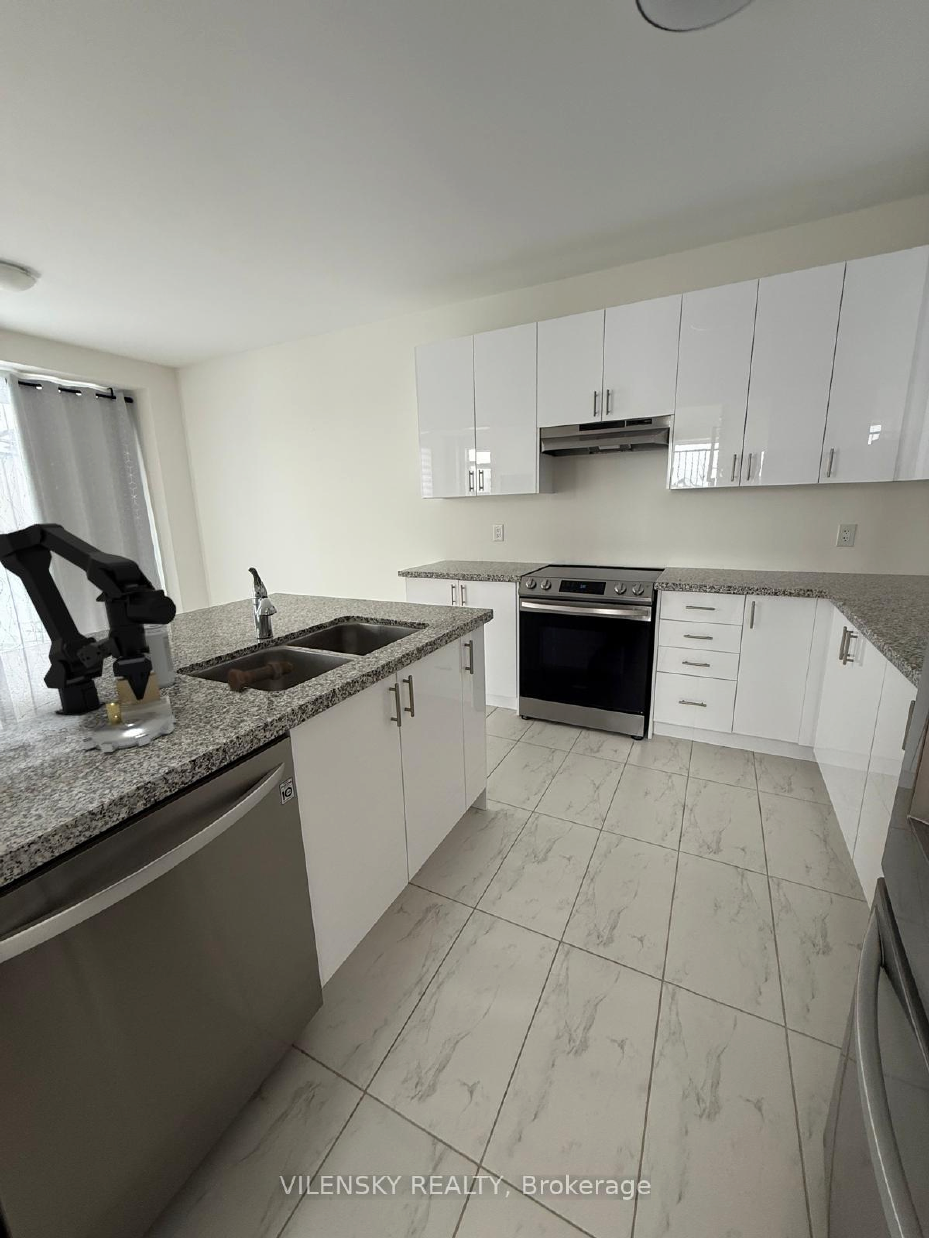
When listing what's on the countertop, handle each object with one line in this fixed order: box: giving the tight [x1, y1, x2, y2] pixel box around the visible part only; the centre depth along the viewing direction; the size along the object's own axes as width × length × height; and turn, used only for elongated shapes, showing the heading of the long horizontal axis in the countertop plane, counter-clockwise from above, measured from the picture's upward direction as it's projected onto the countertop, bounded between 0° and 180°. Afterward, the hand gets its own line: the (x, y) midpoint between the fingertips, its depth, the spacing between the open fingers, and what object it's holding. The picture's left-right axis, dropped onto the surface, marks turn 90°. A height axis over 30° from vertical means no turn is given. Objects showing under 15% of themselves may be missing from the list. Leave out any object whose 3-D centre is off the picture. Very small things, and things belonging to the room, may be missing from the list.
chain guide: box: [119, 695, 173, 717], centre depth 104 cm, size 10×6×2 cm, turn 124°
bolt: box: [227, 660, 294, 693], centre depth 122 cm, size 6×5×15 cm
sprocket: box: [81, 700, 176, 753], centre depth 93 cm, size 15×15×6 cm
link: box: [115, 669, 161, 708], centre depth 103 cm, size 7×4×6 cm, turn 124°
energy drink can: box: [143, 624, 176, 689], centre depth 121 cm, size 6×6×15 cm
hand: (139, 696), depth 103 cm, fingers closed on link, 3 cm apart
